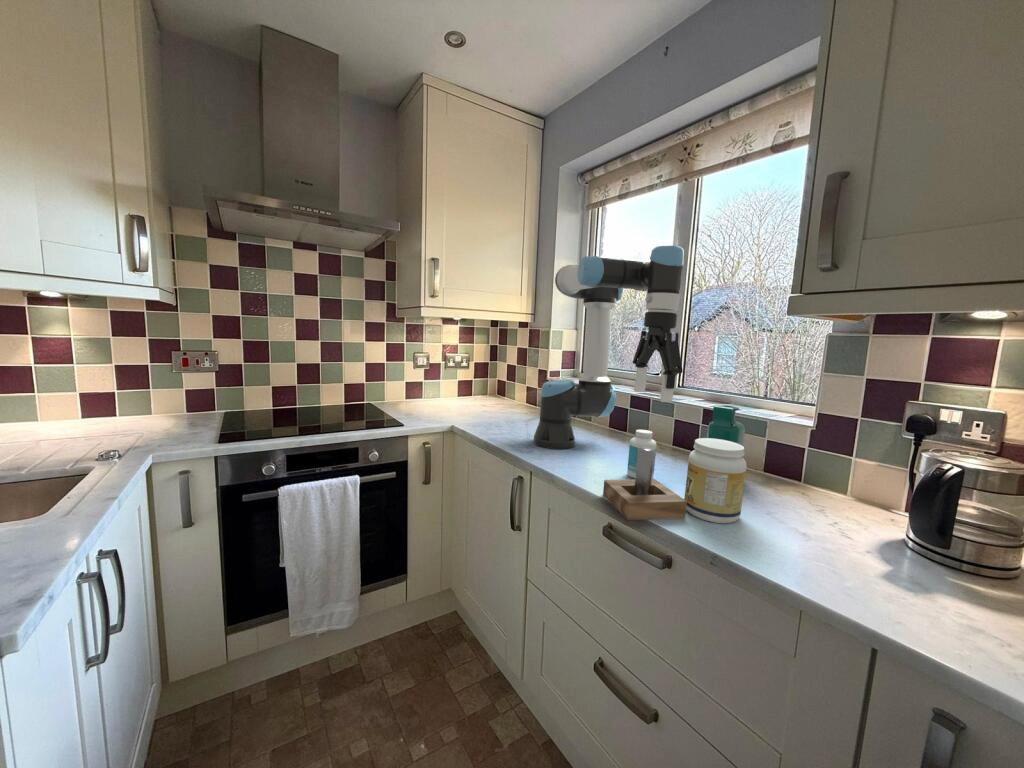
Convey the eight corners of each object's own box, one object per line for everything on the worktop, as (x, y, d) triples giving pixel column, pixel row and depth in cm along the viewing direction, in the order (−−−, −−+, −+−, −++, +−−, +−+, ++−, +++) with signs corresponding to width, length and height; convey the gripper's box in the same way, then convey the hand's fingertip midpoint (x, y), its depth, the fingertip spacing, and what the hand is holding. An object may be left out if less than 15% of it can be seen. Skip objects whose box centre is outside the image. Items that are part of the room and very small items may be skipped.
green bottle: (710, 471, 128) (718, 402, 126) (740, 479, 123) (749, 406, 120) (698, 478, 122) (707, 404, 119) (729, 486, 116) (739, 409, 113)
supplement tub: (682, 499, 105) (689, 434, 103) (735, 508, 101) (744, 440, 99) (683, 518, 94) (691, 445, 91) (744, 530, 89) (753, 454, 87)
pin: (630, 502, 101) (634, 447, 99) (644, 502, 102) (649, 447, 100) (637, 509, 97) (642, 451, 95) (652, 508, 98) (657, 451, 96)
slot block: (602, 495, 105) (604, 480, 104) (653, 493, 107) (654, 479, 107) (627, 520, 91) (629, 502, 91) (685, 518, 94) (687, 501, 93)
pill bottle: (655, 482, 116) (659, 435, 114) (627, 479, 118) (632, 433, 116) (651, 473, 123) (655, 429, 122) (626, 470, 125) (629, 427, 123)
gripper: (625, 311, 113) (617, 387, 116) (674, 309, 89) (664, 406, 92) (650, 313, 114) (642, 388, 117) (706, 311, 90) (694, 407, 93)
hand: (652, 396), depth 105 cm, fingers open, 13 cm apart
